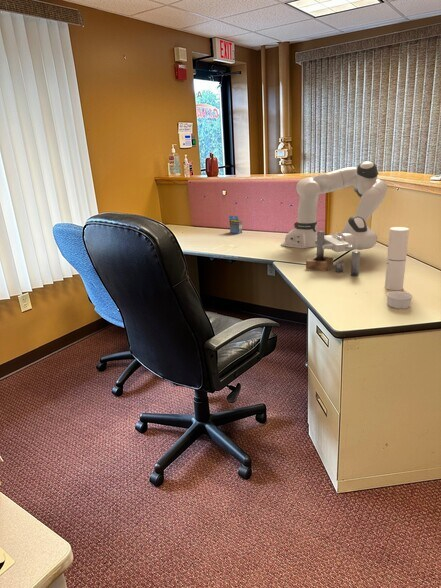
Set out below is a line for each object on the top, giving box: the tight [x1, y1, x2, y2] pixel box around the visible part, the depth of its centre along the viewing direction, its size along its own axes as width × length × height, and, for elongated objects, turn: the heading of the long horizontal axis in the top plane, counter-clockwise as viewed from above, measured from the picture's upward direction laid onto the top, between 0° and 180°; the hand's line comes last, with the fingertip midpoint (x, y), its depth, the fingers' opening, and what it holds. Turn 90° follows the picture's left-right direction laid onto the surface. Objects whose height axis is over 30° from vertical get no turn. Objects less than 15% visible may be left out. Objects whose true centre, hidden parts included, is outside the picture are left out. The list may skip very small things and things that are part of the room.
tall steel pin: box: [315, 230, 326, 261], centre depth 206 cm, size 4×4×18 cm
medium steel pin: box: [350, 250, 361, 277], centre depth 192 cm, size 4×4×11 cm
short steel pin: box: [335, 261, 344, 274], centre depth 199 cm, size 4×4×4 cm
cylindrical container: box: [384, 226, 410, 291], centre depth 171 cm, size 7×7×25 cm
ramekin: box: [386, 290, 413, 310], centre depth 156 cm, size 9×9×4 cm
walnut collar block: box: [305, 255, 334, 272], centre depth 208 cm, size 10×10×4 cm
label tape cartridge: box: [228, 215, 243, 235], centre depth 297 cm, size 9×4×12 cm, turn 47°
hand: (318, 244), depth 205 cm, fingers open, 8 cm apart
